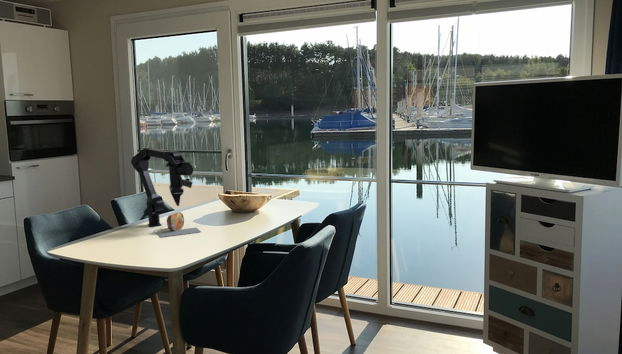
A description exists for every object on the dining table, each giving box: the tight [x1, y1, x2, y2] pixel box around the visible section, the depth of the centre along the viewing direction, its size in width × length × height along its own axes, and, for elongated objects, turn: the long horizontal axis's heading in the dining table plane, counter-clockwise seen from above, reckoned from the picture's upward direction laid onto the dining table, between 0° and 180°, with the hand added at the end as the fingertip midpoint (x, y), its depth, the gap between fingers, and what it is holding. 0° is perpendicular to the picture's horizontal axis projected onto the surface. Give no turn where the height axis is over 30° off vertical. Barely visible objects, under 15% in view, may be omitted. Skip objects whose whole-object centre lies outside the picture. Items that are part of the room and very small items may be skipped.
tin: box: [166, 211, 185, 231], centre depth 277 cm, size 15×3×8 cm, turn 168°
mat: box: [156, 227, 202, 238], centre depth 271 cm, size 11×20×1 cm, turn 116°
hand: (177, 204), depth 280 cm, fingers open, 9 cm apart
